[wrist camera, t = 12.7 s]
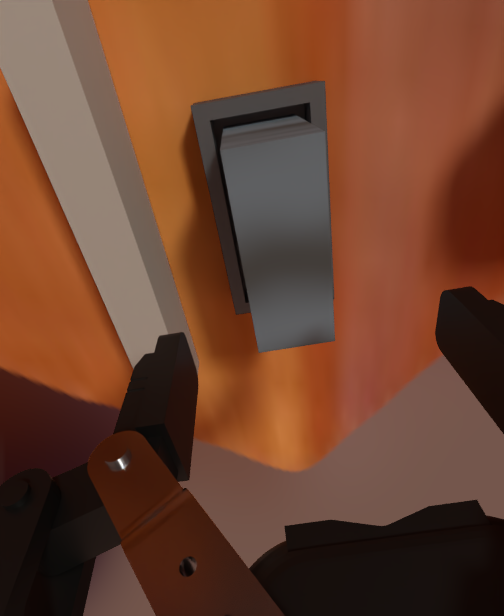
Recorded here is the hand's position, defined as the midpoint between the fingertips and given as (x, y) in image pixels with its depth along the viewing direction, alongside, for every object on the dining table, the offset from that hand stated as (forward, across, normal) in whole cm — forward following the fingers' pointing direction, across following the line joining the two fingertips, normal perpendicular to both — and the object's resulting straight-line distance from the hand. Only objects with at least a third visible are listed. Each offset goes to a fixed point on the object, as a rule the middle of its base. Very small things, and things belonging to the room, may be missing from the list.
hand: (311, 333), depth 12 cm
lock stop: (+14, 0, 0) cm, 14 cm away
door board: (+14, +9, 0) cm, 17 cm away
